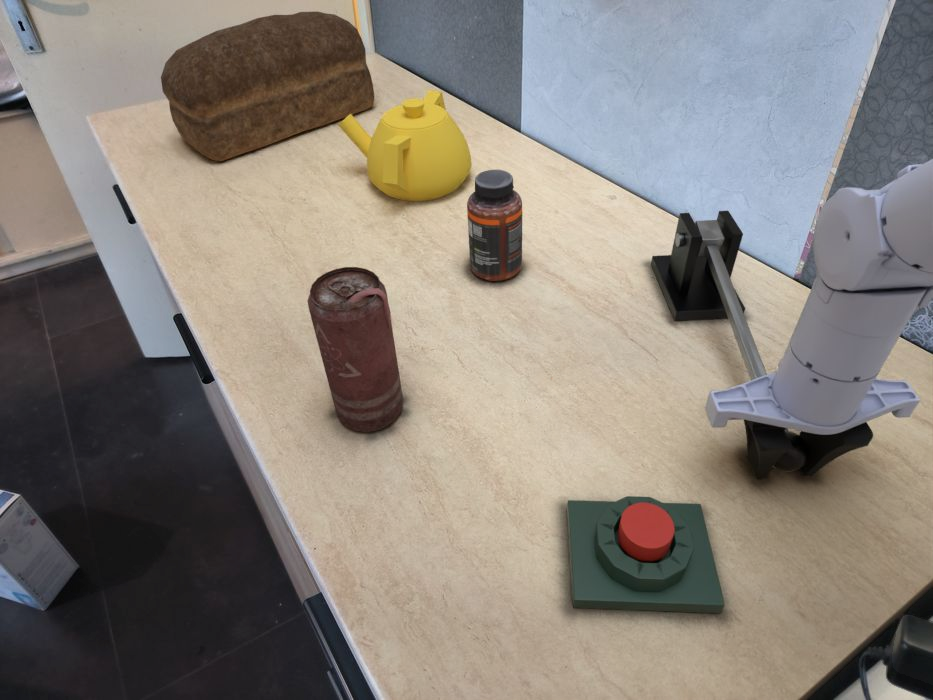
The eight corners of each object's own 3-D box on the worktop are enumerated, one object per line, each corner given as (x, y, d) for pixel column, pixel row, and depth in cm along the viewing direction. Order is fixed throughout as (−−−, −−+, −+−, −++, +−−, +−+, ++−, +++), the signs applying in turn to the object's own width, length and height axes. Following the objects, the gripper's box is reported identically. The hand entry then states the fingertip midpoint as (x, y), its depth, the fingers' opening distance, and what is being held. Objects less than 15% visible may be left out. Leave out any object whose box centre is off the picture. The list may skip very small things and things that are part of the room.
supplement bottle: (524, 255, 76) (527, 165, 69) (518, 285, 72) (519, 194, 64) (474, 251, 77) (471, 162, 70) (465, 281, 73) (460, 190, 65)
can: (402, 435, 57) (382, 311, 47) (330, 434, 57) (296, 311, 48) (410, 385, 61) (393, 262, 52) (344, 384, 62) (314, 263, 52)
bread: (171, 139, 104) (132, 34, 93) (340, 84, 118) (323, -13, 108) (209, 170, 95) (171, 58, 85) (386, 106, 110) (373, 4, 99)
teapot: (372, 141, 100) (362, 68, 93) (488, 151, 96) (486, 75, 89) (317, 207, 86) (299, 127, 79) (449, 222, 82) (443, 139, 75)
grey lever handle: (805, 477, 52) (821, 458, 49) (765, 479, 52) (779, 461, 49) (714, 239, 68) (723, 216, 65) (684, 241, 68) (691, 217, 65)
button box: (697, 512, 50) (705, 489, 48) (721, 613, 44) (731, 592, 42) (566, 508, 51) (569, 485, 49) (572, 608, 45) (575, 587, 43)
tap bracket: (742, 317, 67) (764, 249, 61) (674, 321, 67) (690, 253, 61) (712, 261, 74) (729, 195, 68) (650, 264, 74) (662, 199, 68)
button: (665, 516, 47) (669, 502, 46) (674, 562, 44) (679, 549, 43) (615, 515, 47) (617, 501, 46) (620, 560, 45) (623, 547, 43)
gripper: (911, 307, 47) (843, 427, 56) (710, 318, 47) (675, 436, 56) (969, 378, 42) (883, 497, 51) (743, 390, 42) (699, 507, 51)
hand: (776, 470), depth 53 cm, fingers closed on grey lever handle, 3 cm apart
